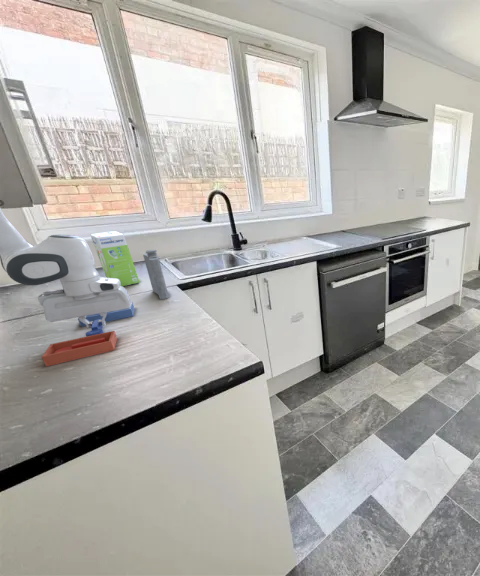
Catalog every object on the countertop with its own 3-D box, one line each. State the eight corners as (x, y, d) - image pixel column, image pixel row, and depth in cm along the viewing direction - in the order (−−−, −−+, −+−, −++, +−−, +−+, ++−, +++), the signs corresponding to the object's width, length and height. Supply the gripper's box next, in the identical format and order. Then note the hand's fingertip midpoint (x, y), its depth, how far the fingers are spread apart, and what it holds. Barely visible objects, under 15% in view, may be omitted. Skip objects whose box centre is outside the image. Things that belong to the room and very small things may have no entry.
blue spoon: (92, 328, 103) (89, 321, 102) (107, 325, 105) (105, 318, 104) (86, 341, 94) (83, 333, 93) (103, 338, 96) (100, 330, 95)
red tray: (46, 368, 83) (41, 356, 81) (54, 354, 89) (50, 344, 88) (114, 351, 90) (111, 341, 89) (117, 340, 96) (114, 330, 95)
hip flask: (152, 292, 139) (140, 248, 132) (163, 289, 141) (152, 246, 135) (160, 301, 128) (148, 254, 121) (172, 298, 131) (160, 252, 124)
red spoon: (108, 343, 94) (105, 335, 93) (106, 349, 90) (103, 341, 89) (58, 355, 88) (55, 346, 87) (55, 361, 85) (51, 352, 84)
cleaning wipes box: (105, 281, 154) (89, 233, 146) (131, 276, 162) (117, 230, 154) (113, 289, 143) (96, 237, 135) (140, 283, 151) (125, 234, 143)
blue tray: (81, 328, 105) (77, 318, 104) (85, 319, 111) (82, 310, 110) (133, 317, 113) (130, 308, 111) (134, 310, 119) (132, 302, 118)
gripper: (32, 296, 88) (49, 339, 92) (123, 283, 99) (135, 322, 103) (38, 290, 93) (55, 331, 97) (125, 278, 104) (136, 315, 108)
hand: (97, 326), depth 100 cm, fingers closed on blue spoon
